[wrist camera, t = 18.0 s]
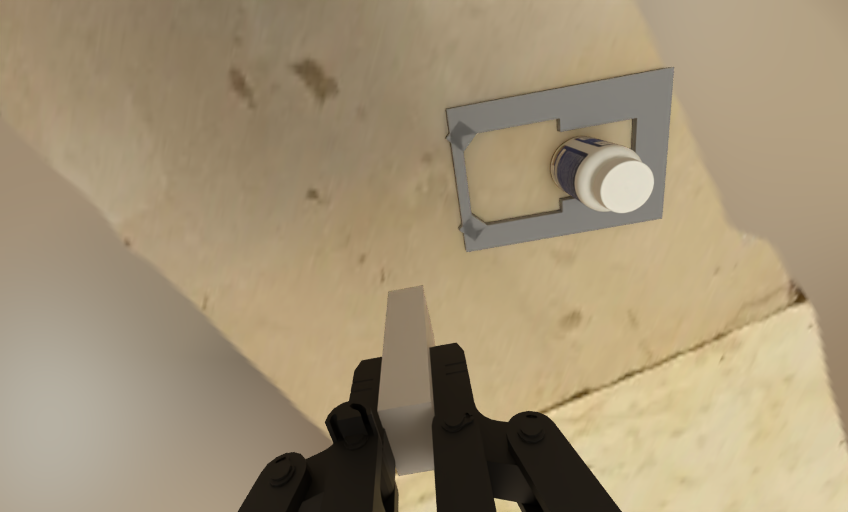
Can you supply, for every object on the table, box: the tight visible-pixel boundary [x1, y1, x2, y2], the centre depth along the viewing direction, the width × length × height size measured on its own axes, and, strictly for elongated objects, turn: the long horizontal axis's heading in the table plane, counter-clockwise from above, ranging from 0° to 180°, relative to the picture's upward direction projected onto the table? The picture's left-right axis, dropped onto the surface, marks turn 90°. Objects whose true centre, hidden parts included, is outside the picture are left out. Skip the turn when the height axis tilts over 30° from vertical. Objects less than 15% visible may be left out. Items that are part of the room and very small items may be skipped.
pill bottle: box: [551, 136, 654, 213], centre depth 33 cm, size 5×5×10 cm
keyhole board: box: [446, 67, 674, 252], centre depth 38 cm, size 14×20×1 cm
